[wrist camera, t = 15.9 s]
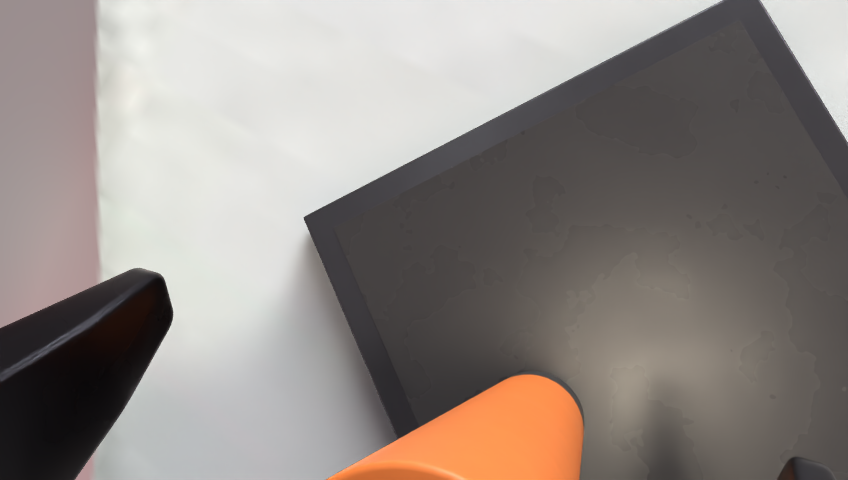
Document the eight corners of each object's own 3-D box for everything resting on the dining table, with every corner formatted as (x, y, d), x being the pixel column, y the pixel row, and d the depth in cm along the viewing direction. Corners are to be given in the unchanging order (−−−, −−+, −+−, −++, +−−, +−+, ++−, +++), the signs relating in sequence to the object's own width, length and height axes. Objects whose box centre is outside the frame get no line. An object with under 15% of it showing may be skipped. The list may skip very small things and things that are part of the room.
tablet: (1237, 806, 15) (1275, 834, 14) (642, 993, 17) (644, 1028, 16) (745, -2, 19) (752, -18, 18) (312, 221, 21) (301, 216, 20)
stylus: (512, 486, 18) (325, 847, 5) (470, 396, 19) (207, 534, 6) (602, 445, 18) (623, 730, 5) (555, 354, 18) (471, 409, 6)
